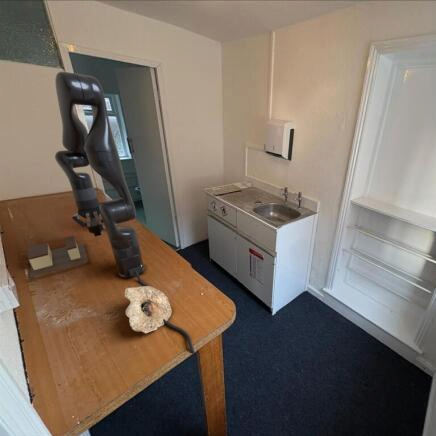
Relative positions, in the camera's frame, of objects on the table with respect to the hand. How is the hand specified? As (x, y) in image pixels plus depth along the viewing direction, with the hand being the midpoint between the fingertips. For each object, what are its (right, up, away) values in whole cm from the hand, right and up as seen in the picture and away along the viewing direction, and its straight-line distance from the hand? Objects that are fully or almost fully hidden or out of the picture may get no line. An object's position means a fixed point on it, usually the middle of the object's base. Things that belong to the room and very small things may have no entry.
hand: (96, 231), depth 108 cm
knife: (-4, +2, +4) cm, 6 cm away
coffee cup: (-14, 0, +26) cm, 29 cm away
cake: (-18, -12, -6) cm, 23 cm away
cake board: (-14, -13, -3) cm, 19 cm away
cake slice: (-11, -10, 0) cm, 15 cm away
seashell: (+41, -28, -26) cm, 57 cm away
